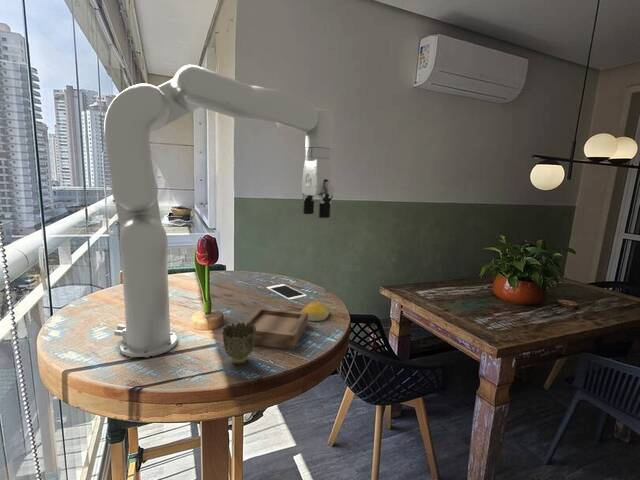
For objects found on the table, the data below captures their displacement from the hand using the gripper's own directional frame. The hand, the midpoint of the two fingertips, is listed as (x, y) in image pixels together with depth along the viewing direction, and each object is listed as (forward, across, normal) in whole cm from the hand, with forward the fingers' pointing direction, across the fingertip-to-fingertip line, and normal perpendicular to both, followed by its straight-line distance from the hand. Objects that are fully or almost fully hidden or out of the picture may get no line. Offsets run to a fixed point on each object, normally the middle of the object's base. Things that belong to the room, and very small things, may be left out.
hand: (316, 215), depth 100 cm
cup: (+31, +16, -27) cm, 45 cm away
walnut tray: (+32, +6, -15) cm, 35 cm away
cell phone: (+32, -25, +2) cm, 40 cm away
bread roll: (+32, 0, +1) cm, 32 cm away
